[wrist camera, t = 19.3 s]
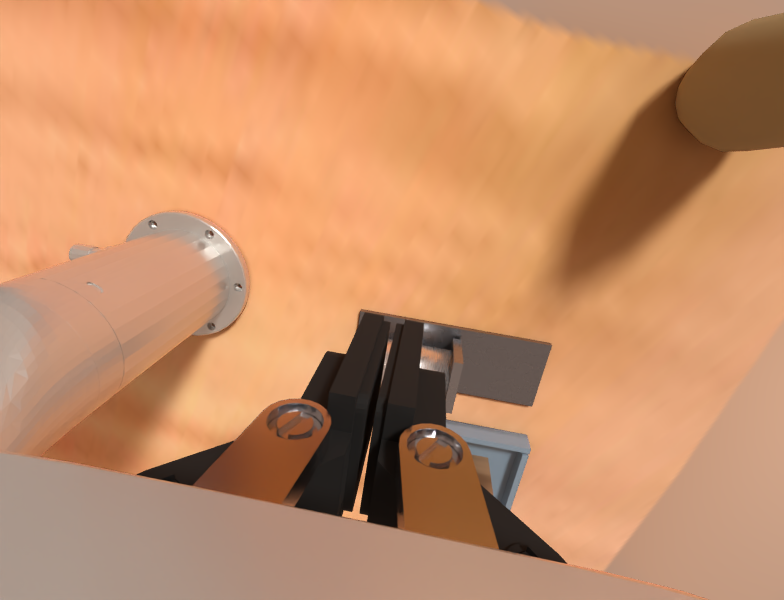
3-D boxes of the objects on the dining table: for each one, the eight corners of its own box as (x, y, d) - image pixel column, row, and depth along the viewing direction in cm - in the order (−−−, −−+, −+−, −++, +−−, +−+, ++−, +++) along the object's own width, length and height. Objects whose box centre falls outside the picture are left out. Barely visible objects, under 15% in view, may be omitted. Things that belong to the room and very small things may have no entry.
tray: (405, 492, 49) (404, 508, 47) (422, 414, 45) (421, 428, 43) (501, 512, 48) (503, 528, 46) (526, 434, 44) (530, 449, 42)
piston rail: (353, 370, 44) (352, 372, 43) (361, 309, 41) (360, 311, 40) (531, 403, 43) (532, 406, 42) (550, 343, 40) (551, 345, 39)
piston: (364, 369, 42) (355, 395, 38) (371, 323, 40) (362, 345, 36) (450, 385, 42) (451, 413, 38) (461, 339, 40) (463, 363, 36)
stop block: (439, 481, 47) (438, 527, 41) (446, 449, 45) (447, 493, 40) (479, 488, 47) (484, 536, 41) (488, 457, 45) (494, 502, 39)
